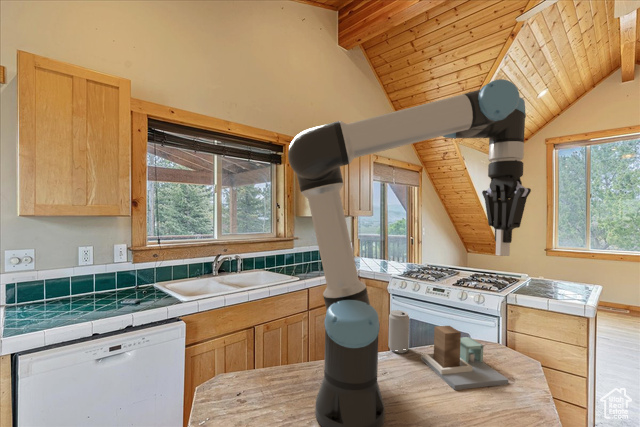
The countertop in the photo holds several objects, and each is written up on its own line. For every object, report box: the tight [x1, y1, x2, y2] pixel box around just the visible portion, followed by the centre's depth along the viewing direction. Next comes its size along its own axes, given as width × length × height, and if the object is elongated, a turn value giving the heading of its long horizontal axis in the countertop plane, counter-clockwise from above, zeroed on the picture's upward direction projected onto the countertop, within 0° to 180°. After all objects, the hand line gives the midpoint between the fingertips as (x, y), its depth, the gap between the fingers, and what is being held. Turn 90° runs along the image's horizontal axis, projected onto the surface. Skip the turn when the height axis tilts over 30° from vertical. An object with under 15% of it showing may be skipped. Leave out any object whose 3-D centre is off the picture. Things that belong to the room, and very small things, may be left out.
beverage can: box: [387, 309, 410, 354], centre depth 98 cm, size 6×6×12 cm
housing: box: [460, 336, 484, 363], centre depth 91 cm, size 6×6×5 cm
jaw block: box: [433, 325, 462, 368], centre depth 87 cm, size 5×5×10 cm
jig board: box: [420, 351, 509, 391], centre depth 86 cm, size 16×16×3 cm
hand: (502, 255), depth 76 cm, fingers closed
